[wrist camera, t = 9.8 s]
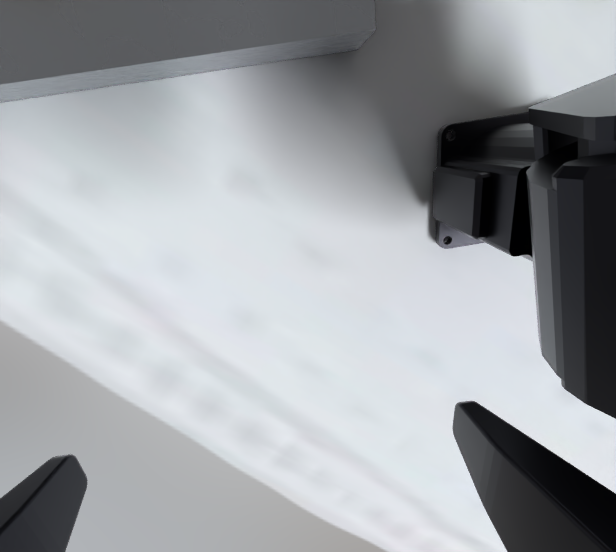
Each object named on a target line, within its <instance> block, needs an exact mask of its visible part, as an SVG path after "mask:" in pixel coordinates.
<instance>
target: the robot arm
mask: <svg viewBox="0 0 616 552" xmlns="http://www.w3.org/2000/svg"><path fill="white" fill-rule="evenodd" d="M528 109H529V112H526V113H519V114H513V115H507V116H500V117H494V118H487V119H481V120H474V121H468V122H461V123H455V124H448V125H445V126H443V127H442V128H441V129H440V131H439V133H438V150H437V168H436V169H435V170H434V172H433V217H434V218H435V219H436V243H437V244H438V245H439V246H440V247H442V248H444V249H448V248H454V247H460V246H466V245H473V244H479V243H487V244H489V245H491V246H493V247H495V248H497V249H499V250H501V251H503V252H505V253H507V254H509V255H511V256H522V257H524V258H526V259H529V260H531V261H533V268H534V281H535V294H536V307H537V320H538V333H539V341H540V346H541V352H542V356H543V357H544V358H545V360H546V361H547V362H548V364H549V365H550V366H551V368H552V369H553V370H554V372H555V373H556V374H557V375H558V376H559V377H560V378H561V383H562V386H563V387H564V389H566V390H567V391H568V392H570V393H571V394H573V395H574V396H575V397H577V398H578V399H580V400H581V401H583V402H584V403H586V404H587V405H589V406H591V407H593V408H595V409H597V410H599V411H601V412H603V413H605V414H608V415H610V416H612V417H614V418H616V74H614V75H611V76H608V77H606V78H603V79H601V80H598V81H595V82H593V83H590V84H588V85H585V86H582V87H580V88H577V89H575V90H572V91H569V92H567V93H564V94H562V95H559V96H556V97H554V98H551V99H549V100H546V101H544V102H541V103H538V104H536V105H533V106H531V107H529V108H528ZM449 130H450V131H451V132H452V137H451V139H450V140H447V138H446V134H447V132H448V131H449ZM446 236H449V239H448V241H447V242H443V240H444V238H445V237H446ZM453 433H454V437H455V439H456V442H457V444H458V447H459V449H460V451H461V454H462V456H463V459H464V461H465V463H466V466H467V468H468V471H469V473H470V475H471V478H472V480H473V483H474V485H475V487H476V490H477V492H478V494H479V497H480V499H481V501H482V503H483V506H484V508H485V510H486V512H487V514H488V516H489V518H490V520H491V521H492V523H493V525H494V527H495V529H496V531H497V533H498V535H499V536H500V538H501V540H502V542H503V544H504V546H505V548H506V550H507V552H616V494H615V493H614V492H612V491H611V490H609V489H608V488H606V487H605V486H603V485H602V484H600V483H599V482H597V481H596V480H594V479H592V478H591V477H589V476H588V475H586V474H585V473H583V472H582V471H580V470H579V469H577V468H576V467H574V466H573V465H571V464H570V463H568V462H567V461H565V460H564V459H562V458H560V457H559V456H557V455H556V454H554V453H553V452H551V451H550V450H548V449H547V448H545V447H544V446H542V445H541V444H539V443H538V442H536V441H535V440H533V439H532V438H530V437H529V436H527V435H525V434H524V433H522V432H521V431H519V430H518V429H516V428H515V427H513V426H512V425H510V424H509V423H507V422H506V421H504V420H503V419H501V418H500V417H498V416H497V415H495V414H494V413H492V412H490V411H489V410H487V409H486V408H484V407H483V406H481V405H480V404H478V403H477V402H474V401H466V402H459V403H457V404H456V405H455V411H454V420H453ZM86 488H87V477H86V474H85V473H84V471H83V469H82V467H81V465H80V464H79V462H78V460H77V458H76V457H75V456H74V455H62V456H56V457H53V458H51V459H50V460H48V461H47V462H46V463H44V464H43V465H42V466H41V467H40V468H38V469H37V470H36V471H35V472H33V473H32V474H31V475H29V476H28V477H27V478H26V479H24V480H23V481H22V482H21V483H19V484H18V485H17V486H16V487H14V488H13V489H12V490H11V491H9V492H8V493H7V494H6V495H4V496H3V497H2V498H0V552H65V550H66V548H67V545H68V542H69V539H70V536H71V533H72V530H73V527H74V524H75V521H76V518H77V515H78V512H79V509H80V506H81V503H82V500H83V497H84V494H85V491H86Z"/></svg>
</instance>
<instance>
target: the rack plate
mask: <svg viewBox="0 0 616 552" xmlns="http://www.w3.org/2000/svg"><path fill="white" fill-rule="evenodd" d="M375 30H376V17H375V0H0V103H1V102H8V101H14V100H21V99H28V98H35V97H41V96H48V95H55V94H62V93H68V92H75V91H82V90H89V89H95V88H102V87H109V86H116V85H122V84H129V83H136V82H143V81H149V80H156V79H163V78H170V77H176V76H183V75H190V74H197V73H204V72H210V71H217V70H224V69H231V68H237V67H244V66H251V65H258V64H264V63H271V62H278V61H285V60H291V59H298V58H305V57H312V56H318V55H325V54H332V53H339V52H345V51H352V50H358V49H359V48H360V47H361V46H362V45H363V43H364V42H365V41H366V40H367V39H368V38H369V37H370V36H371V35H372V34H373V32H374V31H375Z"/></svg>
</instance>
